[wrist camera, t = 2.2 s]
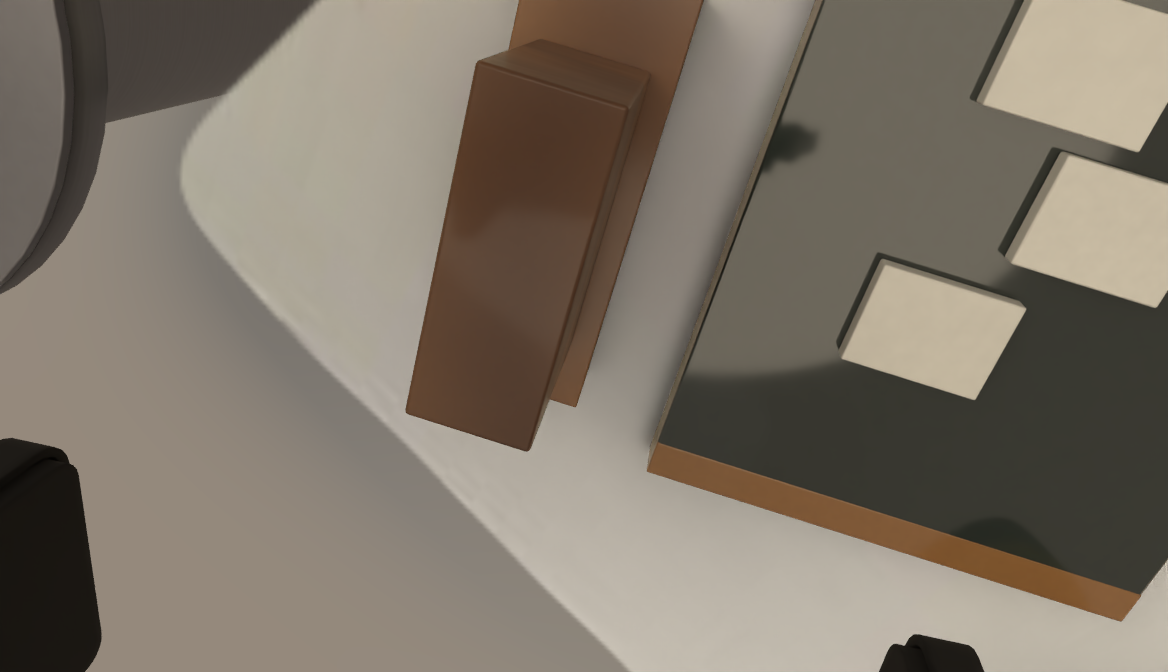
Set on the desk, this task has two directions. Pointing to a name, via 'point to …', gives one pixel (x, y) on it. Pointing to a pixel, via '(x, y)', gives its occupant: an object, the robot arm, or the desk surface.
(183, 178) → the desk surface
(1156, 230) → the beige block
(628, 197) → the brown stepped wooden block
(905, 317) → the cream rectangular block
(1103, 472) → the slate board
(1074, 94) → the cream square block
